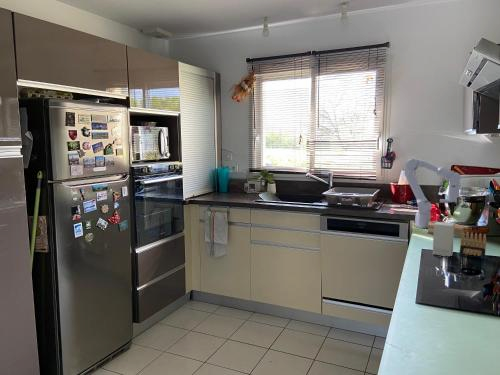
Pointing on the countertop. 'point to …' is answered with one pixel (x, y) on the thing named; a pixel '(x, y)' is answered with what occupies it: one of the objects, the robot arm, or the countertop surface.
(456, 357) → the countertop surface
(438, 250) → the skincare box
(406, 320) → the countertop surface
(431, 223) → the lid
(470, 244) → the ammunition clip
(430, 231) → the storage box
